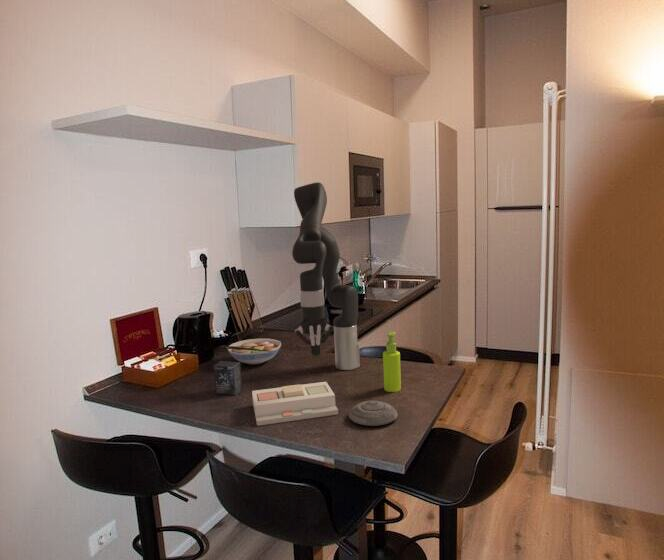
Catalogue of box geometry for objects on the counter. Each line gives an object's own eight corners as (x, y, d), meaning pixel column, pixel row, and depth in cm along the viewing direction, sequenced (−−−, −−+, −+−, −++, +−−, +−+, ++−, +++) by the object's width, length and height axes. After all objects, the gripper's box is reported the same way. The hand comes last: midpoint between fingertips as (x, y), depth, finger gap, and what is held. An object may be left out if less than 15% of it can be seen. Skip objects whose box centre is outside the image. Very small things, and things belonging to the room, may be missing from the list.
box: (215, 394, 178) (213, 365, 177) (223, 388, 183) (221, 360, 182) (235, 395, 176) (232, 366, 174) (242, 389, 181) (240, 361, 180)
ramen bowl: (294, 356, 218) (293, 338, 217) (266, 373, 198) (265, 353, 196) (246, 352, 228) (244, 335, 227) (215, 367, 208) (213, 348, 207)
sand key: (300, 392, 166) (299, 384, 165) (303, 399, 160) (303, 390, 160) (282, 395, 164) (281, 386, 164) (284, 402, 159) (284, 392, 158)
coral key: (276, 400, 164) (276, 391, 164) (278, 407, 158) (278, 398, 158) (258, 402, 163) (257, 394, 162) (259, 410, 157) (259, 400, 157)
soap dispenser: (403, 385, 178) (401, 330, 175) (399, 392, 171) (397, 336, 168) (386, 384, 180) (385, 330, 177) (382, 391, 173) (380, 335, 170)
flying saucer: (372, 405, 163) (371, 388, 162) (408, 418, 151) (407, 401, 150) (338, 419, 153) (337, 402, 152) (373, 434, 142) (372, 416, 141)
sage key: (324, 394, 168) (323, 385, 167) (328, 400, 162) (327, 392, 161) (306, 396, 166) (306, 388, 166) (309, 403, 161) (309, 394, 160)
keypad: (326, 395, 172) (326, 381, 171) (338, 414, 156) (337, 399, 155) (253, 405, 166) (252, 390, 166) (257, 425, 150) (255, 410, 150)
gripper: (330, 299, 164) (332, 350, 167) (290, 303, 161) (293, 355, 164) (335, 303, 157) (338, 356, 160) (293, 307, 154) (297, 361, 157)
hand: (315, 355), depth 162 cm, fingers closed
